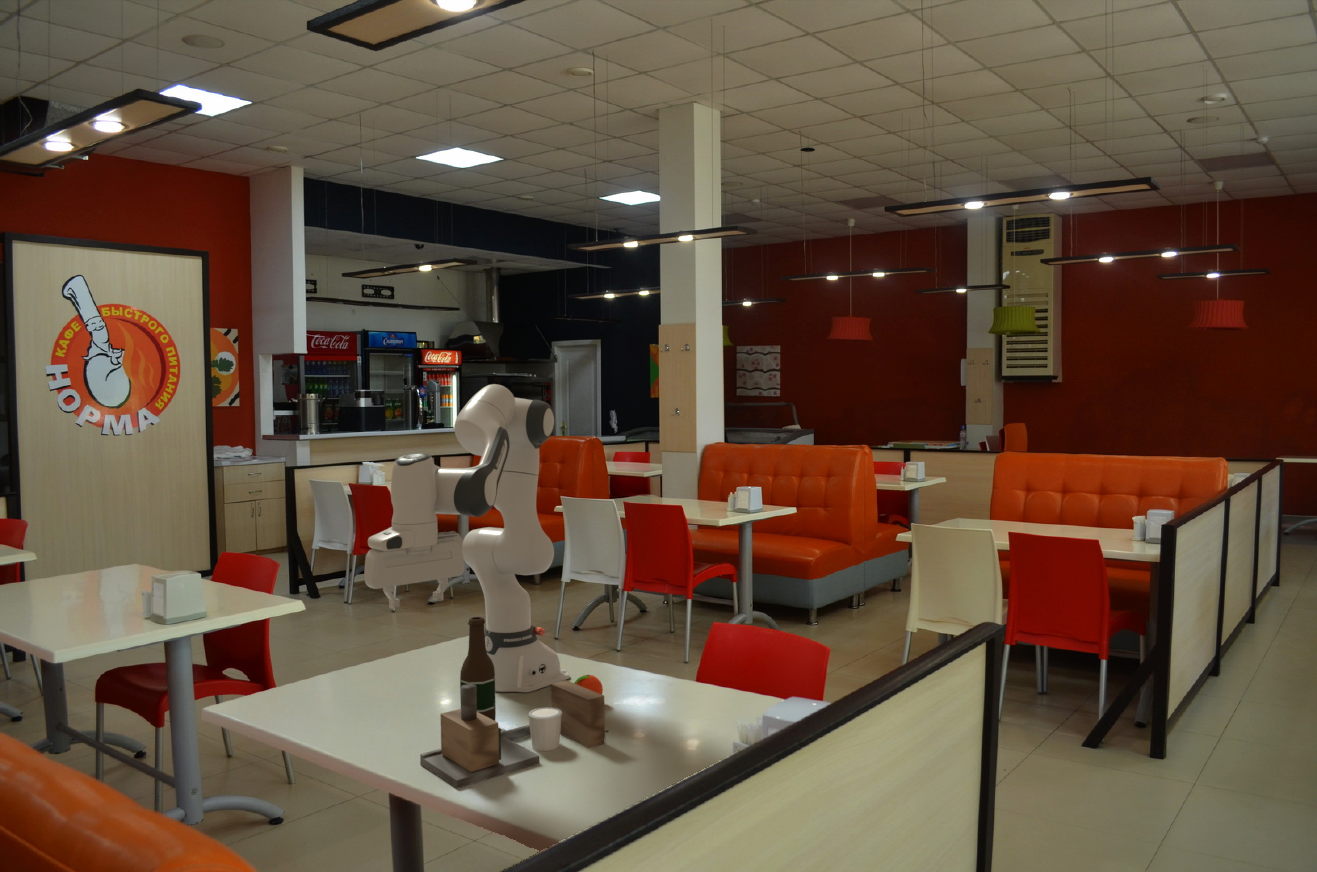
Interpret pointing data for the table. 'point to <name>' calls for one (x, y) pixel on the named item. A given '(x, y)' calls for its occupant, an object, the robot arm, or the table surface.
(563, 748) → the table surface
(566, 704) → the frame
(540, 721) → the white cup
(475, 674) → the beer bottle
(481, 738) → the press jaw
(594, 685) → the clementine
